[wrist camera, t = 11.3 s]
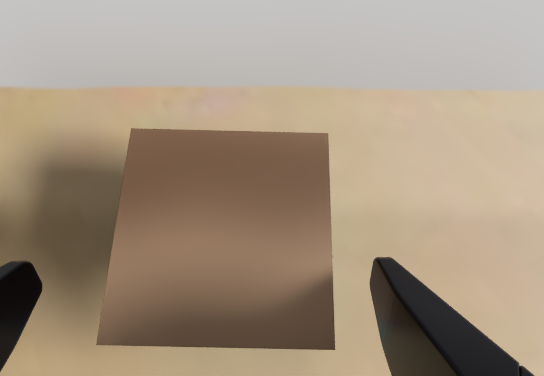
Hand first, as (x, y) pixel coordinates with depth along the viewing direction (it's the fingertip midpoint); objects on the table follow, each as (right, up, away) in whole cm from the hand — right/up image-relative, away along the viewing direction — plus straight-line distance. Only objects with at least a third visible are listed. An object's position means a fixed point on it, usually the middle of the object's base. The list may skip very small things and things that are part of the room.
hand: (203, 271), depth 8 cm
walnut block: (0, -2, +10) cm, 11 cm away
